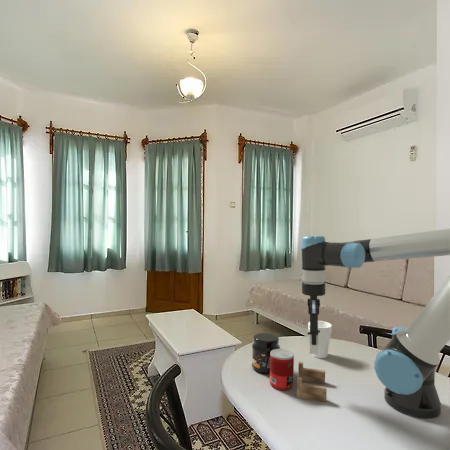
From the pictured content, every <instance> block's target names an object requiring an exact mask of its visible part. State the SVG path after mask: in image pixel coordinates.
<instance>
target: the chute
mask: <svg viewBox="0 0 450 450" xmlns="http://www.w3.org/2000/svg"><path fill="white" fill-rule="evenodd" d="M297 369H298V373H297V374H298V376H297V377H296V398H299V399H305V400H311V401H317V402H324V403H326V402H327V386H324V385H325V384H326V370H324V369H318V368H317V369H315V368H309V367H308V368H307V367H304V362H303V361H298V368H297ZM303 382H308V383H315V384H323V386H321V385H315V384H308V383H303Z"/></svg>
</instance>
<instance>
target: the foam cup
mask: <svg viewBox="0 0 450 450" xmlns="http://www.w3.org/2000/svg"><path fill="white" fill-rule="evenodd" d="M307 325H308V326H307V329H308V332H310V321H308V323H307ZM318 330H320V333H318V355H317V354H311V355H312V357H314V358H317V359H325V357H326V358H327V357H328V354H329V348H330V347H329V346H330V341H331V335H332V331H333V325H332V323H330V322H328V321H324V320H318ZM308 337H310V335H308Z"/></svg>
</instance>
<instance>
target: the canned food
mask: <svg viewBox="0 0 450 450" xmlns="http://www.w3.org/2000/svg"><path fill="white" fill-rule="evenodd" d="M294 355H295V354H294V353H293V352H292V351H291V350H288V349H285V348H280V349H274V350H272V351H271V352H270V374H269V384H270V386H271V387H272V388H273V389H275V390H279V391H289V390H291V389H292V388H293V386H294V372H295V371H294V369H295V366H294V365H295V362H294V361H295V356H294Z"/></svg>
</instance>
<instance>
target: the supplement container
mask: <svg viewBox="0 0 450 450" xmlns="http://www.w3.org/2000/svg"><path fill="white" fill-rule="evenodd" d="M252 341H253V343H252V345H251V347H252V349H251V350H252V351H251V352H252V354H251V356H252V357H251V359H252V360H251V367H252V368H253V370H254V371H255V372H258V373H260V374H267V375H270V352H271V351H272V350H274V349H281V345H280V344H279V343H280V338H279V336H278V335H277V334H274V333H271V332H259V333H256V334H254V335H253V340H252Z"/></svg>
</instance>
